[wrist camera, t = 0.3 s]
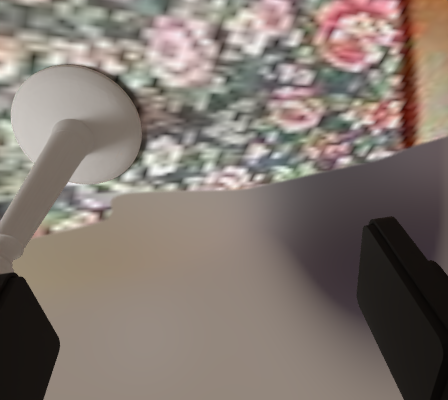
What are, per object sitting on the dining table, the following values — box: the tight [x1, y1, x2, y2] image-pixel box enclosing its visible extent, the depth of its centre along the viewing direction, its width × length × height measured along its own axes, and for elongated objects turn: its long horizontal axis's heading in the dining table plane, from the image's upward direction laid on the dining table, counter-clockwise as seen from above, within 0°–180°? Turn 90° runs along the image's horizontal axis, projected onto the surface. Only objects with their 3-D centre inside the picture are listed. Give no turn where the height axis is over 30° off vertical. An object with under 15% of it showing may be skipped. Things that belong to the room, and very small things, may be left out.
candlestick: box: [0, 65, 142, 274], centre depth 27 cm, size 13×13×30 cm
